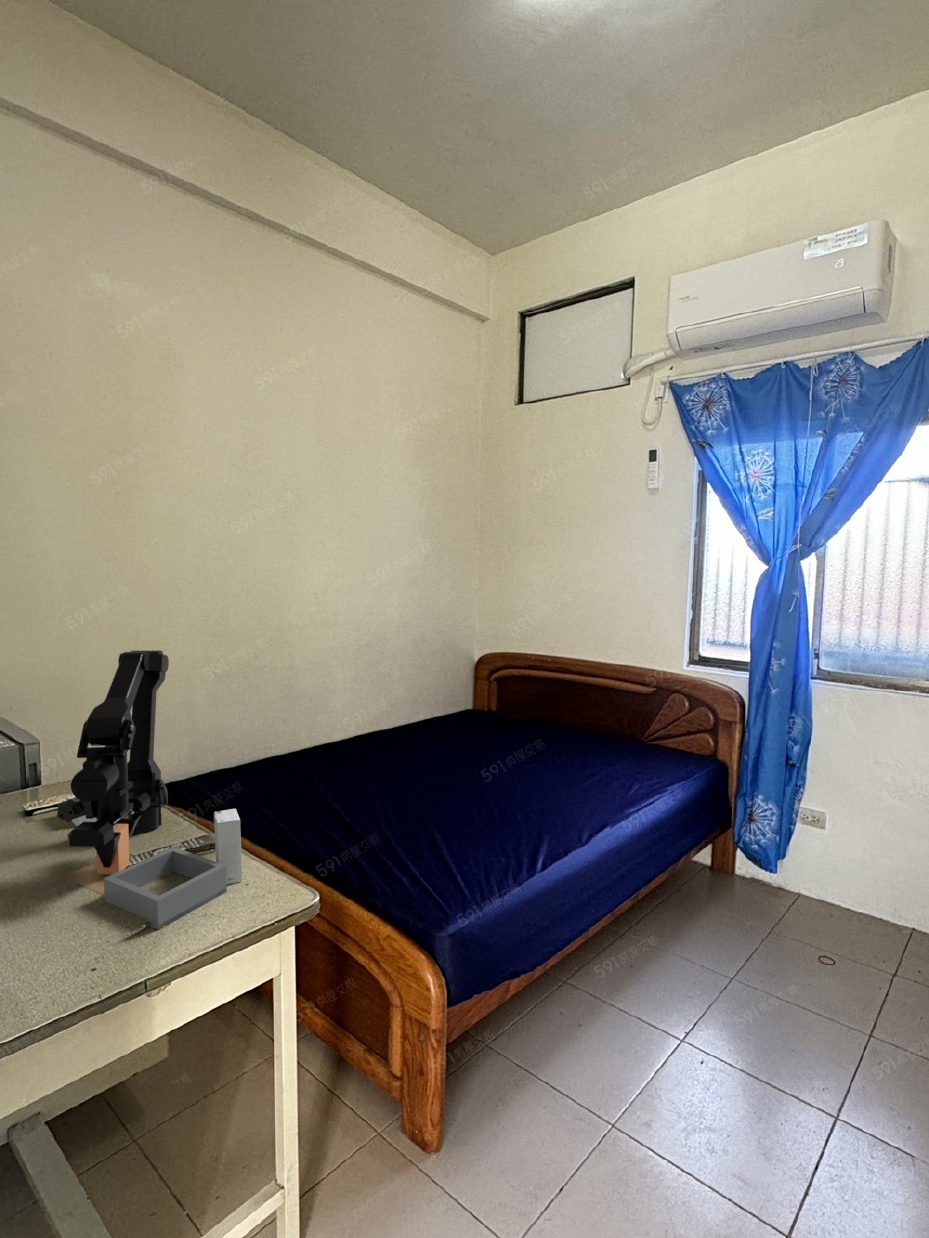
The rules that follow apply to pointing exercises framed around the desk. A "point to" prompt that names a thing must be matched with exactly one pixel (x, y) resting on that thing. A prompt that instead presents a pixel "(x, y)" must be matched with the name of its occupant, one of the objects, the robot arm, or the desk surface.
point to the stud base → (89, 877)
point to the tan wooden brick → (117, 853)
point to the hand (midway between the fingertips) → (113, 861)
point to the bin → (174, 902)
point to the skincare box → (228, 843)
